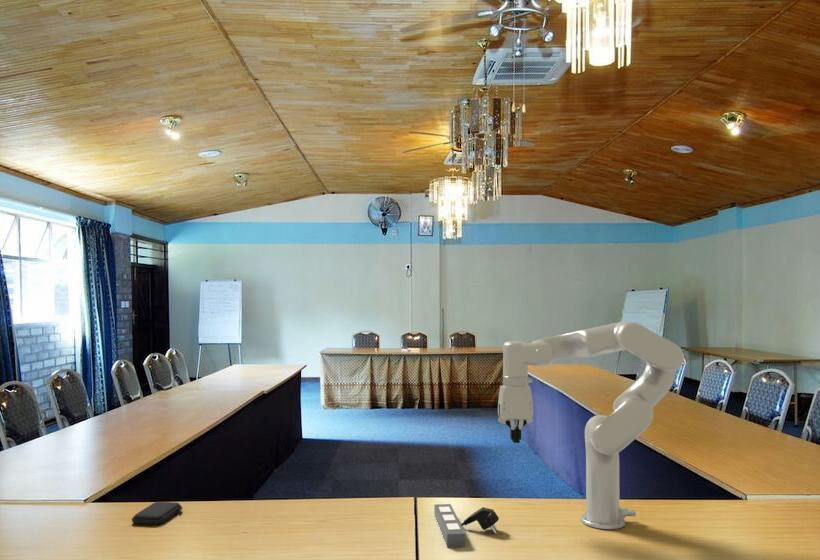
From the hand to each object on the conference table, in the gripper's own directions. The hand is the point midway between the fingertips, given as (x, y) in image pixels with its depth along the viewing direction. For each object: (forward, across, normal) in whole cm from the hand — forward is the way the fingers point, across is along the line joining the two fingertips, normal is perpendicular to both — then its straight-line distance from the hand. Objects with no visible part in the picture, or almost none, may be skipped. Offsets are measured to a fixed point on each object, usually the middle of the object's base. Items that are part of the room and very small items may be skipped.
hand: (515, 441), depth 188 cm
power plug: (+23, +14, +8) cm, 28 cm away
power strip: (+23, +22, +8) cm, 33 cm away
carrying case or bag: (+24, +108, -12) cm, 111 cm away
